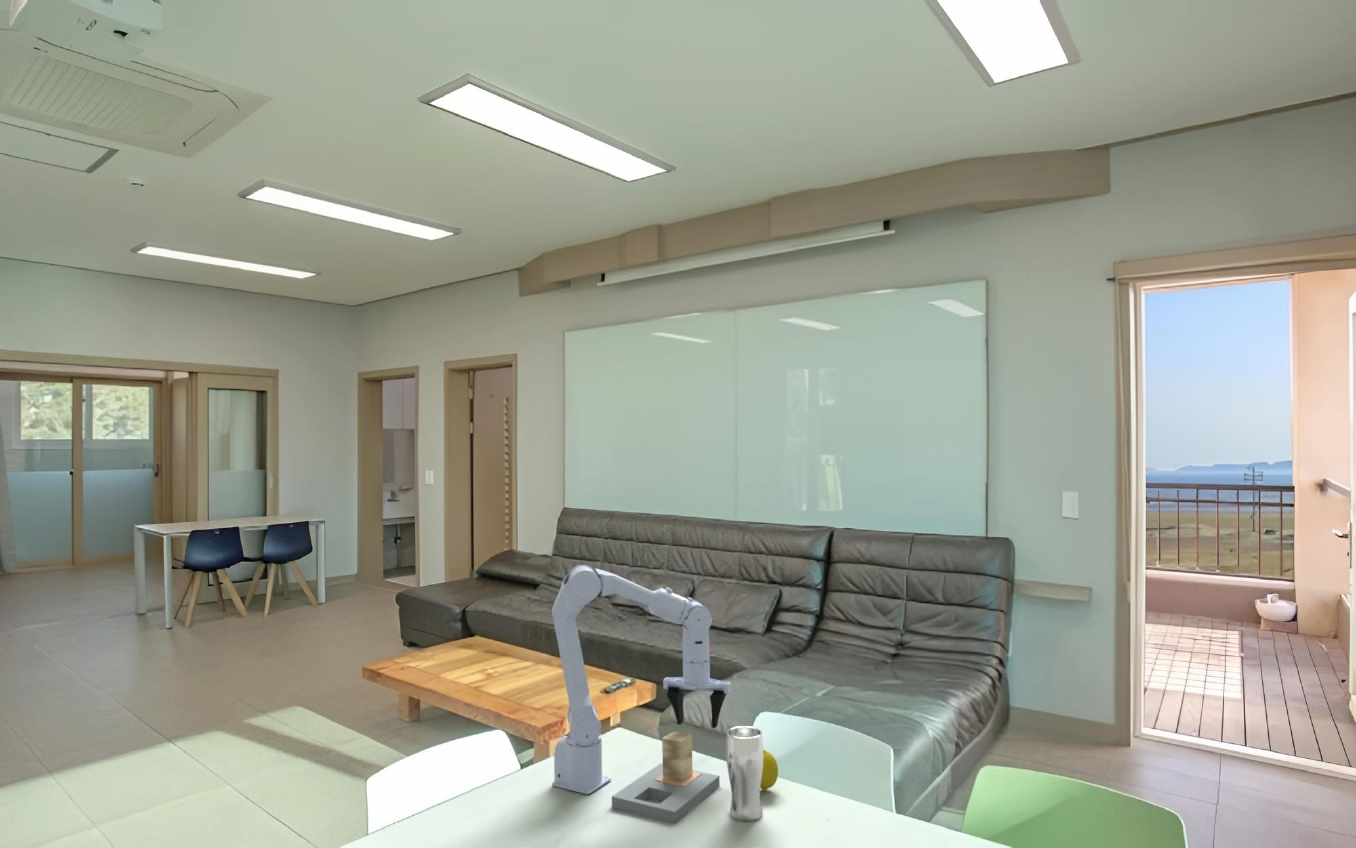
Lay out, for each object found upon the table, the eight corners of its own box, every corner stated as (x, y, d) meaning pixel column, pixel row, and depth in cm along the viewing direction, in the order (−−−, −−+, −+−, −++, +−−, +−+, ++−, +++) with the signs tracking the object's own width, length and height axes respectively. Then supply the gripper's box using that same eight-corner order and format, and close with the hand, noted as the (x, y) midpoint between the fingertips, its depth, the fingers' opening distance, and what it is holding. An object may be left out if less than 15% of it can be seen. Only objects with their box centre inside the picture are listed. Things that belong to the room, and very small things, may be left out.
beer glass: (768, 808, 143) (766, 727, 144) (760, 825, 136) (758, 740, 137) (732, 803, 145) (731, 724, 146) (723, 820, 139) (721, 736, 139)
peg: (662, 778, 152) (662, 738, 152) (673, 771, 156) (673, 731, 156) (681, 783, 150) (681, 741, 150) (692, 775, 154) (691, 734, 154)
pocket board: (611, 807, 145) (611, 795, 145) (660, 773, 160) (660, 762, 160) (675, 823, 138) (674, 810, 138) (719, 786, 153) (719, 774, 153)
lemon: (777, 798, 147) (776, 756, 148) (749, 796, 148) (748, 754, 149) (779, 786, 153) (778, 745, 153) (752, 784, 154) (751, 744, 154)
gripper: (657, 662, 160) (659, 728, 159) (724, 667, 155) (725, 734, 155) (668, 654, 167) (669, 717, 166) (732, 658, 162) (734, 723, 161)
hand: (697, 724), depth 161 cm, fingers open, 7 cm apart
